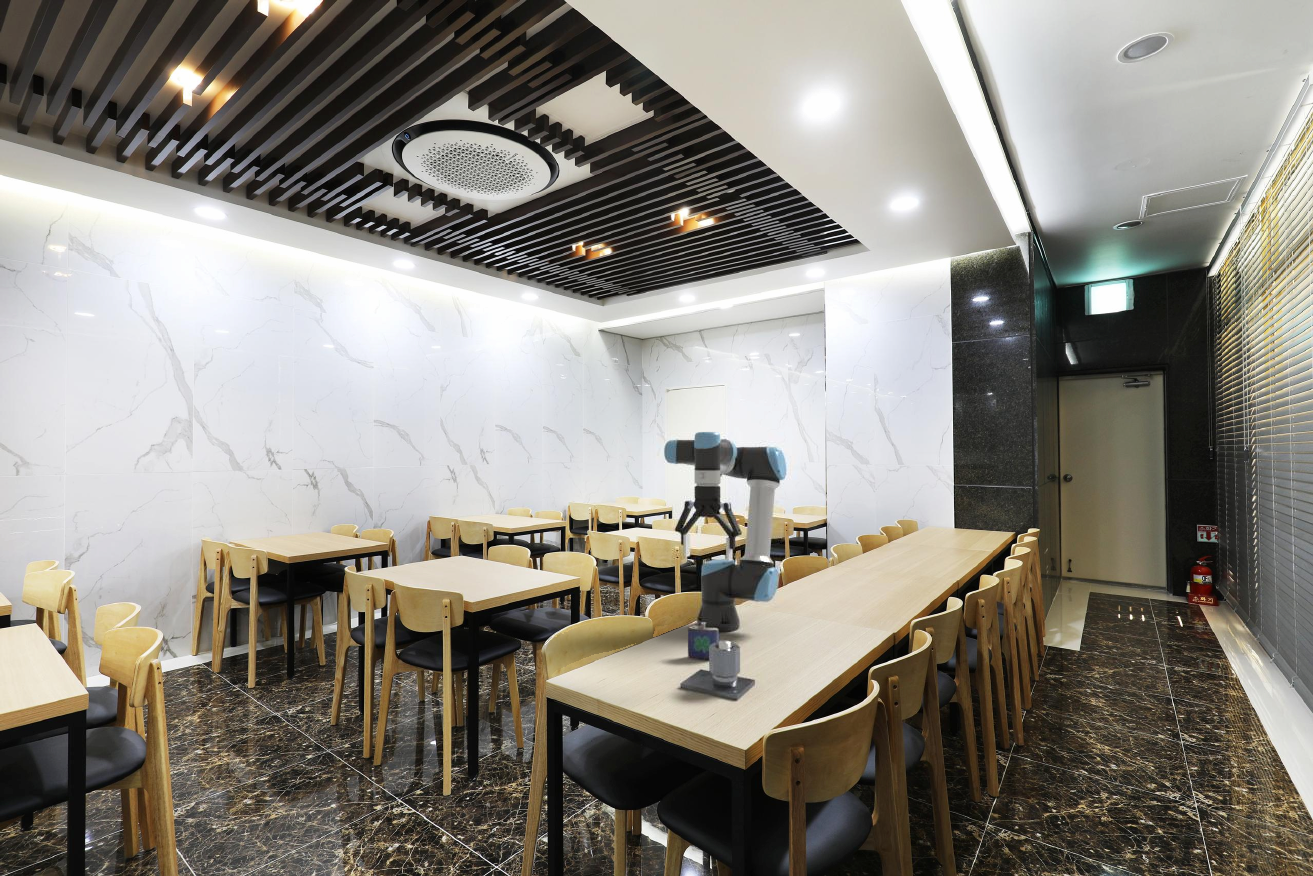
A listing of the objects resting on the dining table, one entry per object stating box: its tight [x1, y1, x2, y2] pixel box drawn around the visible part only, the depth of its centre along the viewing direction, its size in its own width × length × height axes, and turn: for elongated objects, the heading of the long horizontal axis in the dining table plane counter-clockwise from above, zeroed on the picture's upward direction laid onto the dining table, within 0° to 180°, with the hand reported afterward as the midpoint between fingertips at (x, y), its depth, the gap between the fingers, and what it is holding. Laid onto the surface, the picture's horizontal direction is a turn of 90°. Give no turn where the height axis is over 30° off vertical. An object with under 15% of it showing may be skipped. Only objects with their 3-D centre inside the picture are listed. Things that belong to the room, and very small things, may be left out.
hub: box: [708, 641, 741, 677], centre depth 161 cm, size 7×7×6 cm
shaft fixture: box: [679, 639, 756, 701], centre depth 162 cm, size 12×16×12 cm
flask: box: [687, 622, 720, 661], centre depth 184 cm, size 9×3×11 cm, turn 78°
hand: (707, 558), depth 178 cm, fingers open, 13 cm apart
